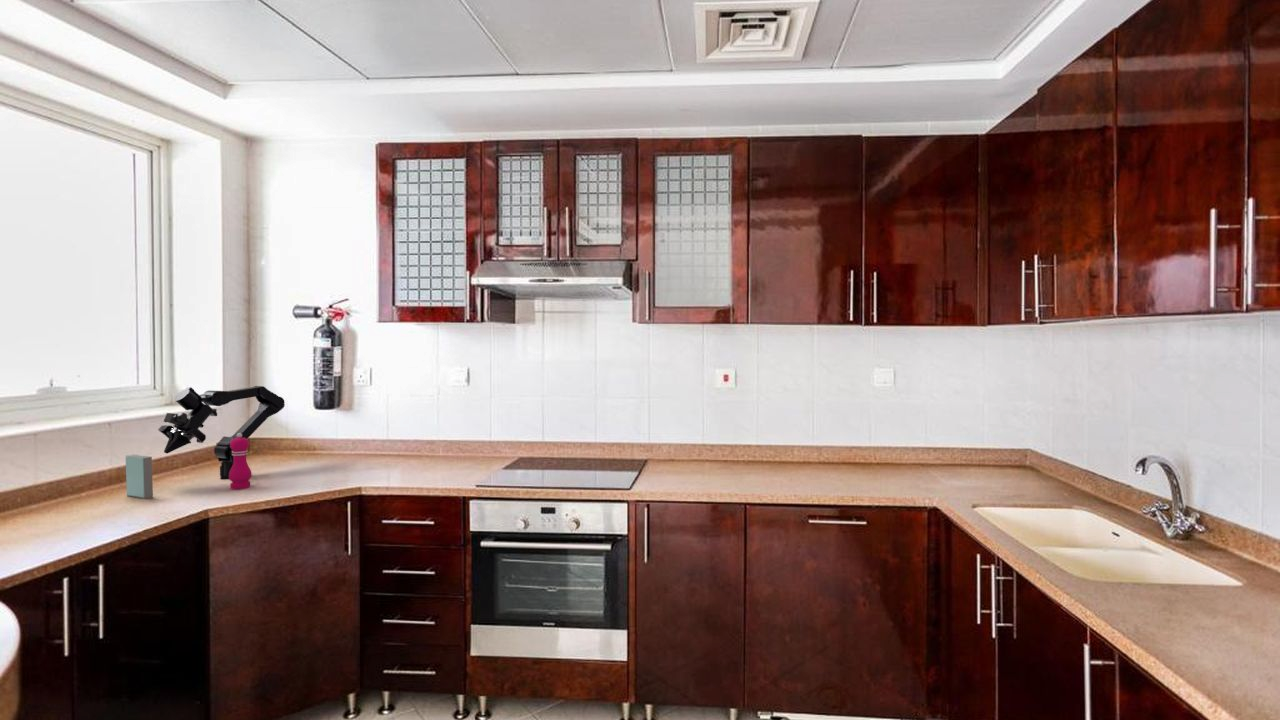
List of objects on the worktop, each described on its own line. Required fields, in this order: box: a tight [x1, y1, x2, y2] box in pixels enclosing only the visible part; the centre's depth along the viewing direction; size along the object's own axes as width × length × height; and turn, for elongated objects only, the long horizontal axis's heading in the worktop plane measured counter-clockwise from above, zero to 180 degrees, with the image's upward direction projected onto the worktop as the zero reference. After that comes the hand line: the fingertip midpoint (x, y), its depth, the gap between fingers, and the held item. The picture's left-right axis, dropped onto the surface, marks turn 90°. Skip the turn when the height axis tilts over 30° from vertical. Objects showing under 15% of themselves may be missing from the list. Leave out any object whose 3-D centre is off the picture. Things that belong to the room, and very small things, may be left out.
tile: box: [125, 454, 154, 500], centre depth 226 cm, size 3×10×14 cm, turn 67°
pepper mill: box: [229, 433, 253, 490], centre depth 240 cm, size 7×7×20 cm
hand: (165, 452), depth 234 cm, fingers closed
